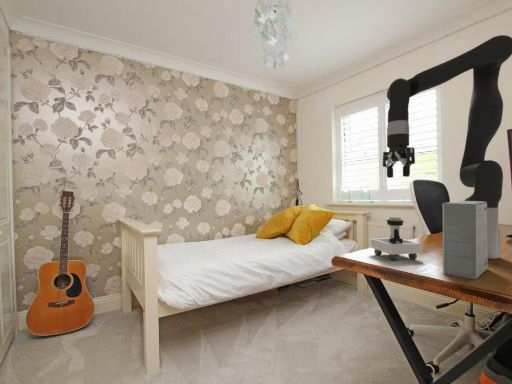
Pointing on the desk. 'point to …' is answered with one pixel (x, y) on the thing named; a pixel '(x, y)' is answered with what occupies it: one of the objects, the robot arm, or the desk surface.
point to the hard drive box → (465, 238)
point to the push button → (395, 230)
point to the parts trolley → (396, 248)
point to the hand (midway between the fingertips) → (397, 177)
